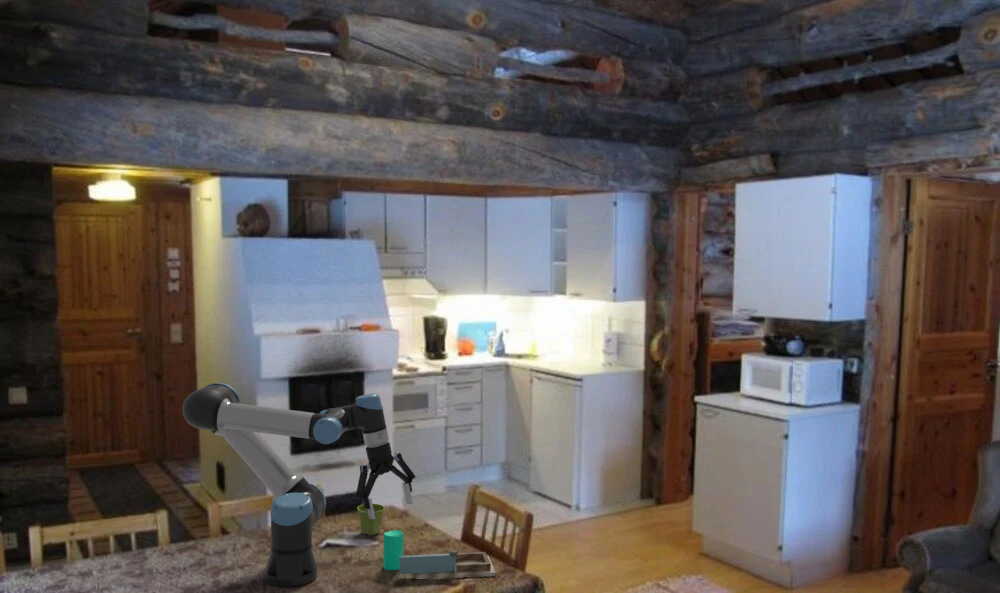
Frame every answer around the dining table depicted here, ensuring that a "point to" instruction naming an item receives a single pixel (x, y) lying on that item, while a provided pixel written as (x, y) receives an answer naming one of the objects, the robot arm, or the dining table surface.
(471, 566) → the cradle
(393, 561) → the candle
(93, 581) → the dining table surface
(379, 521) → the plant pot
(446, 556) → the keeper
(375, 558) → the dining table surface
